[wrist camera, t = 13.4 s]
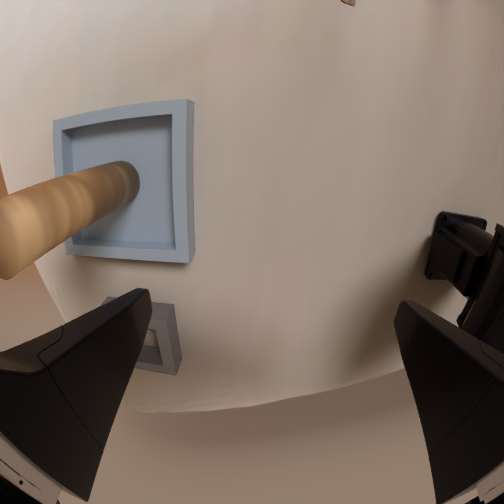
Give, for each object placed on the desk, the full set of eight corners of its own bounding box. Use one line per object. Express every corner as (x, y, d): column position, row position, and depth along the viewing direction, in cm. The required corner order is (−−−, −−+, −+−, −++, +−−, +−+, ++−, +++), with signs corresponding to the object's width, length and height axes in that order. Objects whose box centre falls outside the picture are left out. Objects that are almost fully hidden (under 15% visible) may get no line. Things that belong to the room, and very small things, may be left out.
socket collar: (173, 304, 25) (165, 320, 23) (181, 358, 28) (176, 375, 26) (108, 296, 25) (96, 310, 23) (123, 349, 28) (114, 363, 26)
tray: (194, 101, 18) (186, 99, 16) (195, 252, 23) (189, 263, 21) (67, 120, 18) (53, 120, 17) (78, 245, 23) (67, 254, 21)
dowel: (146, 171, 20) (18, 227, 8) (130, 211, 21) (16, 293, 9) (111, 153, 19) (-23, 191, 7) (97, 192, 21) (-23, 255, 9)
